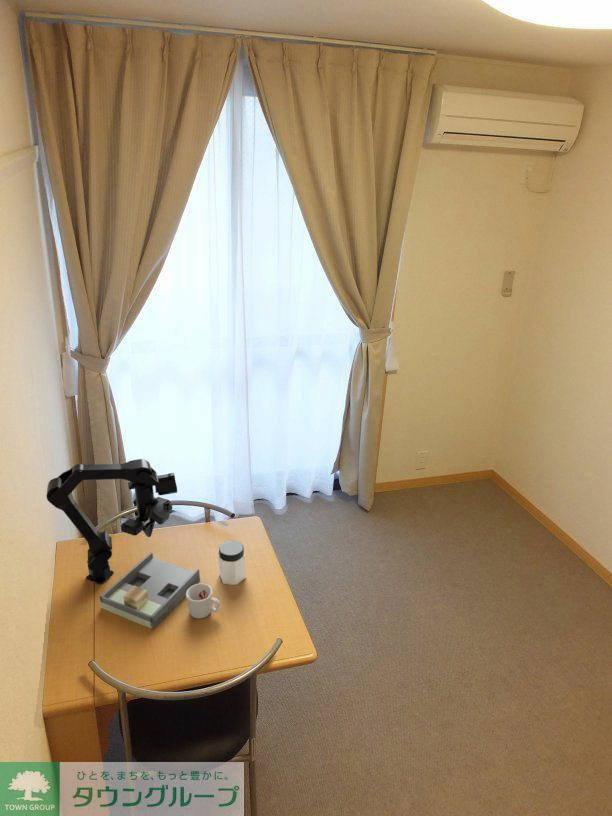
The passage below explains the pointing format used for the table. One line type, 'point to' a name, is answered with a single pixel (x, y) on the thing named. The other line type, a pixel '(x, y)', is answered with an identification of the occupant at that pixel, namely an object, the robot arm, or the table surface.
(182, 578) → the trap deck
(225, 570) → the jar
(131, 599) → the maple block
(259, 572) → the table surface
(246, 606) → the table surface
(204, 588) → the cup
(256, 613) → the table surface
